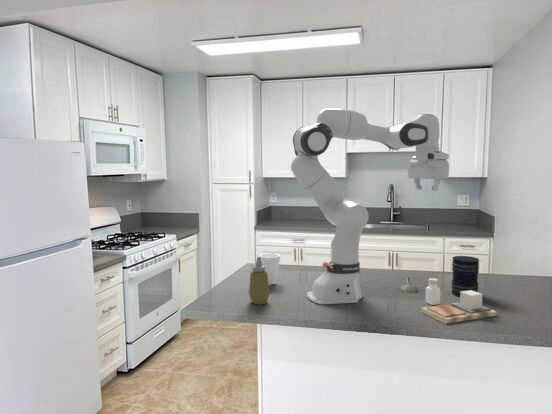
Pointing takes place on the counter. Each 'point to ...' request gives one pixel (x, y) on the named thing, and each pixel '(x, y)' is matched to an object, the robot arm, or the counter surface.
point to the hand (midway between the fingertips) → (426, 190)
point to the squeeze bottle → (259, 284)
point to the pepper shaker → (433, 292)
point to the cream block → (471, 299)
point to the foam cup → (271, 266)
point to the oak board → (457, 312)
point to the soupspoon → (409, 287)
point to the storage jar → (464, 274)
